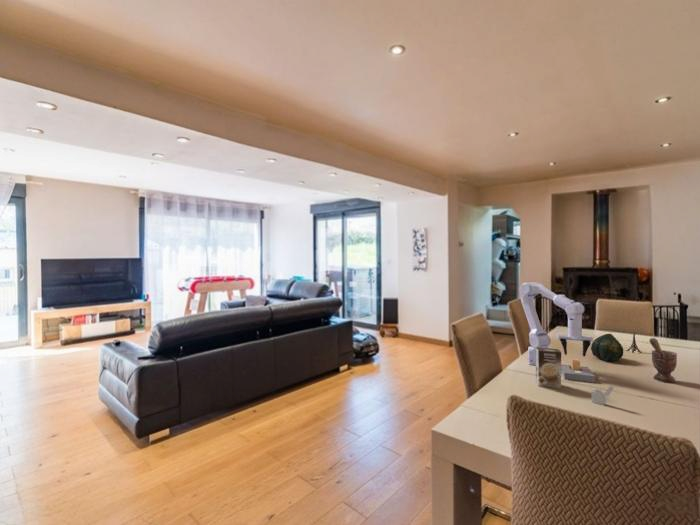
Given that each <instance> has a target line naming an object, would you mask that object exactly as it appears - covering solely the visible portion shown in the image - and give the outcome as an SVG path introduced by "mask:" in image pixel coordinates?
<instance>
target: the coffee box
mask: <svg viewBox="0 0 700 525" xmlns="http://www.w3.org/2000/svg"><path fill="white" fill-rule="evenodd" d="M561 364H562V351H561V350H560V349H558V348H551V347H548V348H539V347H536V365H535V383H536V384H537V387H546V388H554V389H562V373H561Z"/></svg>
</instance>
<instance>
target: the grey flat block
mask: <svg viewBox="0 0 700 525" xmlns="http://www.w3.org/2000/svg"><path fill="white" fill-rule="evenodd" d="M595 375H596V374H594V373H593V372H592V370H591V369H590V367H589V366H582V365H580V371H578V370H571V364H562V363H561V376H562V377H563V379H564V380H567V379H569V380H568V381H576V380H579V381H578V382H585V381H586V383H594V382H595V383H596V376H595Z"/></svg>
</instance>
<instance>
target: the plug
mask: <svg viewBox="0 0 700 525" xmlns="http://www.w3.org/2000/svg"><path fill="white" fill-rule="evenodd" d="M570 365H571V370H578V371H580V366H581V361H580V360H579V359H576V358H571V359H570Z"/></svg>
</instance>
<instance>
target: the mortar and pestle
mask: <svg viewBox="0 0 700 525" xmlns="http://www.w3.org/2000/svg"><path fill="white" fill-rule="evenodd" d="M648 341H649V343H650V345H651V346H652V348H653V349H654V350H651V352H652V353H651V362H652V365H653V368H654V369H656V371H657V373H656V374H654V376H653V379H654V380H656V381H658V382H662V383H670V384H671V383H673V384H674V383H676V379H675V377H674V376H673V375H672V373H673V372H674V371H675V369H676V367H677V361H678V360H677V357H678V353H677V352H675V351H670V350H666V349H665V350H664V349H662V348H661V345H660V343H659V341H658V339H657V338H654V337H651V338H650V339H649V340H648Z"/></svg>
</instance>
